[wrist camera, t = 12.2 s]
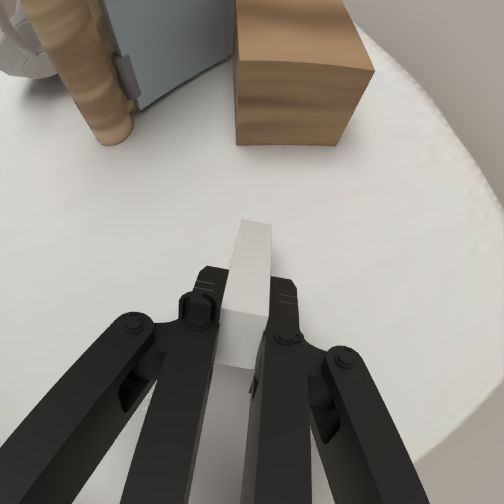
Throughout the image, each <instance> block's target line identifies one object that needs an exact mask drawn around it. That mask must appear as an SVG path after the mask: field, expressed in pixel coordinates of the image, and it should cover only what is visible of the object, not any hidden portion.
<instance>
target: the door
mask: <svg viewBox="0 0 504 504" xmlns="http://www.w3.org/2000/svg"><path fill="white" fill-rule="evenodd" d="M98 1H99V4H100V7H101V10H102V13H103V16H104V19H105V23H106V26H107V29H108V32H109V35H110V37H111V40H112V43H113V46H114V49H115V52H114V53H113V54H112V56H111V58H112V61H113V64H114V66H115V69H116V72H117V74H118V77H119V79H120V82H121V85H122V87H123V90H124V92H125V95H126V97H127V98H128V99H131V100H132V99H133V102H134V104H135V105H136V106H137V107H138V108H139V109H140V110H142V109H143V108H145V107H146V106H148V105H149V104H151V103H152V102H154V101H155V100H156V99H158V98H159V97H161V96H163V95H164V94H166V93H167V92H169V91H170V90H172V89H173V88H175V87H177V86H178V85H180V84H181V83H183V82H185V81H186V80H188V79H190V78H191V77H193V76H195V75H196V74H198V73H200V72H201V71H203V70H205V69H207V68H208V67H210V66H212V65H214V64H216V63H217V62H219V61H221V60H223V59H225V58H227V57H229V56H231V55H232V54H233V25H234V0H98Z"/></svg>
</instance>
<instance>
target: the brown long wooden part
mask: <svg viewBox="0 0 504 504" xmlns="http://www.w3.org/2000/svg"><path fill="white" fill-rule="evenodd" d="M20 3H21V5H22V7H23V9H24V11H25V13H26V15H27V17H28V19H29V21H30V23H31V25H32V27H33V29H34V31H35V32H36V34H37V36H38V38H39V40H40V42H41V44H42V46H43V48H44V49H45V51H46V53H47V55H48V57H49V59H50V60H51V62H52V64H53V66H54V68H55V69H56V71H57V73H58V75H59V76H60V78H61V80H62V82H63V83H64V85H65V87H66V89H67V90H68V92H69V94H70V95H71V97H72V99H73V101H74V102H75V104H76V106H77V107H78V109H79V111H80V112H81V114H82V116H83V117H84V119H85V120H86V122H87V124H88V125H89V127H90V129H91V130H92V132H93V133H94V135H95V137H96V138H97V140H98V141H99V142H100V143H101V144H103V145H107V146H111V145H115V144H118V143H120V142H122V141H123V140H125V139H126V138H127V137H128V136H129V135H130V133H131V131H132V129H133V120H132V117H131V115H130V112H131V110H132V108H133V106H134V102H133V99H132V100H131V99H128V98H127V97H126V95H125V92H124V90H123V87H122V85H121V82H120V79H119V77H118V74H117V72H116V69H115V66H114V64H113V61H112V58H111V56H112V54H113V53H114V52H115V49H114V46H113V43H112V40H111V37H110V35H109V32H108V29H107V26H106V23H105V19H104V16H103V13H102V10H101V7H100V4H99V1H98V0H20Z"/></svg>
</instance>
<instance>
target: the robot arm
mask: <svg viewBox="0 0 504 504" xmlns="http://www.w3.org/2000/svg"><path fill="white" fill-rule="evenodd" d="M271 241H272V225H269V224H263V223H258V222H252V221H246V220H241V223H240V228H239V232H238V236H237V240H236V244H235V249H234V253H233V257H232V261H231V266H230V270H228V269H222V268H217V267H211V266H206V267H205V268H204V269H202V270H201V271H200V272H199V275H198V277H197V280H196V283H195V285H194V288H193V291H191V292H187V293H186V294H184V295H182V297H181V298H180V299H179V318H178V319H177V320H175V321H171V322H166V323H153V321H152V319H151V318H150V317H149V316H147V315H146V314H144V313H140V312H128V313H125V314H122V315H121V316H119V317H118V318H117V319H116V320H115V321H114V322H113V323H112V324H111V325H110V326H109V327H108V328H107V329H106V330H105V331H104V332H103V333H102V334H101V335H100V336H99V338H98V339H97V340H96V341H95V342H94V343H93V344H92V345H91V346H90V347H89V348H88V349H87V350H86V351H85V352H84V353H83V354H82V356H81V357H80V358H79V359H78V360H77V361H76V362H75V363H74V364H73V365H72V366H71V367H70V368H69V370H68V371H67V372H66V373H65V374H64V375H63V376H62V377H61V378H60V379H59V381H58V382H57V383H56V384H55V385H54V386H53V387H52V388H51V389H50V391H49V392H48V393H47V394H46V395H45V396H44V397H43V398H42V400H41V401H40V402H39V403H38V404H37V405H36V406H35V407H34V409H33V410H32V411H31V412H30V413H29V414H28V416H27V417H26V418H25V419H24V420H23V421H22V423H21V424H20V425H19V426H18V427H17V428H16V430H15V431H14V432H13V433H12V434H11V436H10V437H9V438H8V439H7V440H6V442H5V443H4V444H3V445H2V446H1V448H0V504H72V502H73V501H74V499H75V498H76V496H77V495H78V494H79V492H80V491H81V489H82V488H83V486H84V485H85V483H86V482H87V480H88V479H89V477H90V476H91V475H92V473H93V472H94V470H95V469H96V467H97V466H98V464H99V463H100V461H101V460H102V459H103V457H104V456H105V454H106V453H107V451H108V450H109V448H110V447H111V446H112V444H113V443H114V441H115V440H116V438H117V437H118V435H119V434H120V432H121V431H122V430H123V428H124V427H125V425H126V424H127V422H128V421H129V419H130V418H131V417H132V415H133V414H134V412H135V411H136V409H137V408H138V406H139V405H140V404H141V402H142V401H143V399H144V398H145V396H146V395H147V393H148V392H149V391H150V389H151V388H152V386H153V385H154V383H155V382H156V380H157V383H156V386H155V389H154V392H153V395H152V398H151V401H150V404H149V407H148V410H147V413H146V416H145V420H144V423H143V426H142V429H141V432H140V436H139V439H138V442H137V445H136V449H135V452H134V455H133V459H132V462H131V466H130V469H129V472H128V476H127V479H126V483H125V486H124V490H123V494H122V497H121V501H120V504H188V501H189V495H190V490H191V484H192V479H193V473H194V468H195V462H196V457H197V451H198V446H199V441H200V435H201V430H202V425H203V420H204V414H205V409H206V404H207V399H208V394H209V388H210V383H211V378H212V372H213V365H214V363H217V364H222V365H228V366H234V367H240V368H246V369H253V370H254V368H255V374H254V377H253V381H252V384H251V388H250V391H249V393H251V400H250V411H249V421H248V432H247V442H246V452H245V462H244V472H243V482H242V492H241V501H240V504H312V481H311V442H310V427H311V430H312V433H313V436H314V439H315V442H316V445H317V448H318V452H319V455H320V458H321V461H322V464H323V467H324V470H325V473H326V477H327V480H328V483H329V486H330V489H331V492H332V495H333V499H334V502H335V504H430V503H429V500H428V498H427V496H426V493H425V491H424V488H423V486H422V484H421V482H420V479H419V477H418V475H417V472H416V470H415V468H414V466H413V463H412V461H411V459H410V457H409V454H408V452H407V450H406V448H405V446H404V444H403V441H402V439H401V437H400V435H399V433H398V431H397V428H396V426H395V424H394V422H393V420H392V418H391V416H390V414H389V412H388V410H387V407H386V405H385V403H384V401H383V399H382V397H381V395H380V393H379V391H378V389H377V387H376V385H375V383H374V381H373V379H372V377H371V375H370V373H369V371H368V369H367V367H366V365H365V363H364V361H363V359H362V357H361V356H360V355H359V354H358V352H356V351H355V350H353V349H352V348H349V347H346V346H335V347H332V348H330V349H329V350H328V351H324V350H321V349H319V348H316V347H314V346H312V345H310V344H309V343H308V342H306V341H305V339H304V336H303V334H302V333H301V332H300V329H299V313H298V299H297V288H296V286H295V285H294V283H293V282H292V280H290V279H284V278H278V277H273V276H270V270H271Z"/></svg>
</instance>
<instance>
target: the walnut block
mask: <svg viewBox="0 0 504 504" xmlns="http://www.w3.org/2000/svg"><path fill="white" fill-rule="evenodd" d="M374 72H375V69H374V67H373V65H372V62H371V60H370V58H369V56H368V53H367V51H366V49H365V47H364V45H363V42H362V40H361V38H360V36H359V34H358V32H357V30H356V28H355V26H354V24H353V22H352V20H351V18H350V16H349V14H348V12H347V10H346V9H345V6H344V5H343V3H342V1H341V0H234V25H233V80H234V103H235V125H236V145H317V146H336V144H337V142H338V140H339V139H340V137H341V135H342V133H343V131H344V129H345V127H346V125H347V124H348V122H349V120H350V118H351V116H352V114H353V112H354V110H355V108H356V107H357V105H358V103H359V101H360V99H361V97H362V95H363V93H364V91H365V89H366V87H367V86H368V84H369V82H370V80H371V78H372V76H373V74H374Z"/></svg>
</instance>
